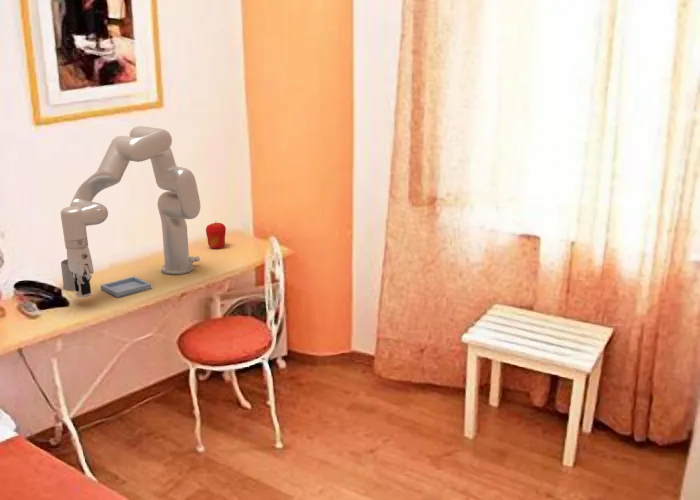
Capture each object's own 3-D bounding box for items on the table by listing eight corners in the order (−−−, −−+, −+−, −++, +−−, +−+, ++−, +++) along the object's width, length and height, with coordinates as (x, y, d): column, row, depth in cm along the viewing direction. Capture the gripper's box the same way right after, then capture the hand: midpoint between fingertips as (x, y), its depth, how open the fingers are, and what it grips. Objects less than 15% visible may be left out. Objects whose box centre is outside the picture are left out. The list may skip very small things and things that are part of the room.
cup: (79, 291, 298) (77, 265, 296) (59, 290, 300) (56, 264, 297) (91, 283, 306) (88, 258, 303) (71, 282, 308) (68, 257, 305)
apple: (218, 243, 356) (217, 217, 353) (230, 247, 351) (229, 220, 348) (202, 247, 350) (201, 221, 347) (215, 251, 345) (213, 224, 341)
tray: (134, 281, 309) (134, 276, 308) (151, 288, 301) (151, 283, 300) (101, 290, 300) (100, 284, 299) (117, 298, 292) (117, 292, 291)
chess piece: (94, 293, 287) (91, 269, 284) (85, 298, 282) (81, 274, 279) (82, 291, 289) (79, 267, 286) (72, 296, 284) (69, 272, 281)
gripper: (98, 245, 276) (104, 295, 282) (75, 235, 287) (82, 283, 293) (77, 250, 271) (84, 301, 277) (55, 240, 282) (62, 289, 288)
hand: (83, 291), depth 285 cm, fingers closed on chess piece, 3 cm apart
